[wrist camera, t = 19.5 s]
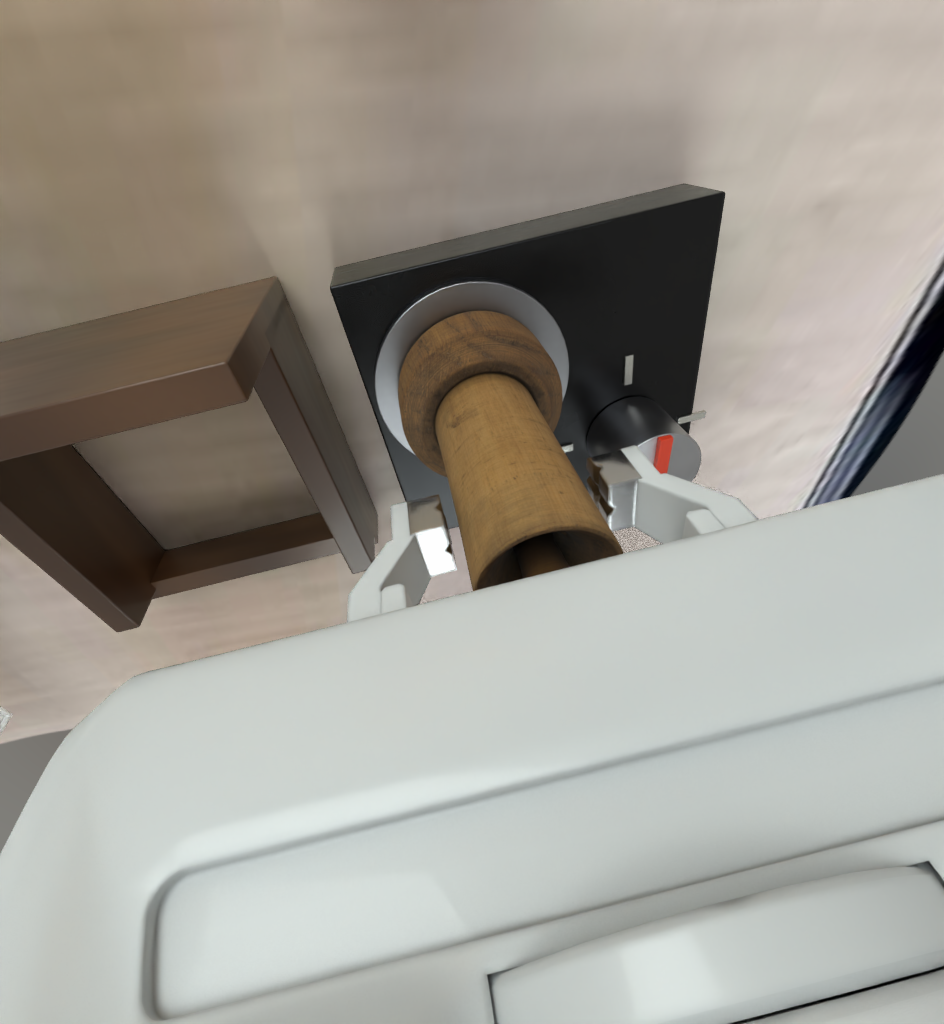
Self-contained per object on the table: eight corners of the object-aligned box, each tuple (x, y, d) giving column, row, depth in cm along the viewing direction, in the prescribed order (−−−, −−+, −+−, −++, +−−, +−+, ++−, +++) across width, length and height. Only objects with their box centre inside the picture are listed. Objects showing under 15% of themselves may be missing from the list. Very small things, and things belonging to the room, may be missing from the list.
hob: (416, 510, 28) (421, 546, 26) (333, 267, 19) (328, 288, 17) (667, 448, 28) (694, 479, 26) (699, 179, 19) (745, 187, 17)
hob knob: (658, 458, 25) (695, 503, 22) (584, 473, 25) (613, 520, 22) (669, 388, 22) (714, 429, 19) (587, 404, 22) (620, 447, 19)
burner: (404, 481, 23) (405, 486, 23) (344, 308, 18) (344, 310, 17) (570, 441, 23) (572, 445, 23) (561, 255, 18) (565, 257, 17)
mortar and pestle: (527, 458, 23) (758, 954, 9) (393, 452, 21) (435, 1032, 8) (565, 318, 19) (1078, 841, 5) (403, 299, 17) (525, 956, 4)
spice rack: (157, 569, 28) (89, 715, 21) (-45, 353, 19) (-276, 483, 12) (377, 514, 28) (380, 642, 21) (277, 275, 19) (226, 361, 12)
